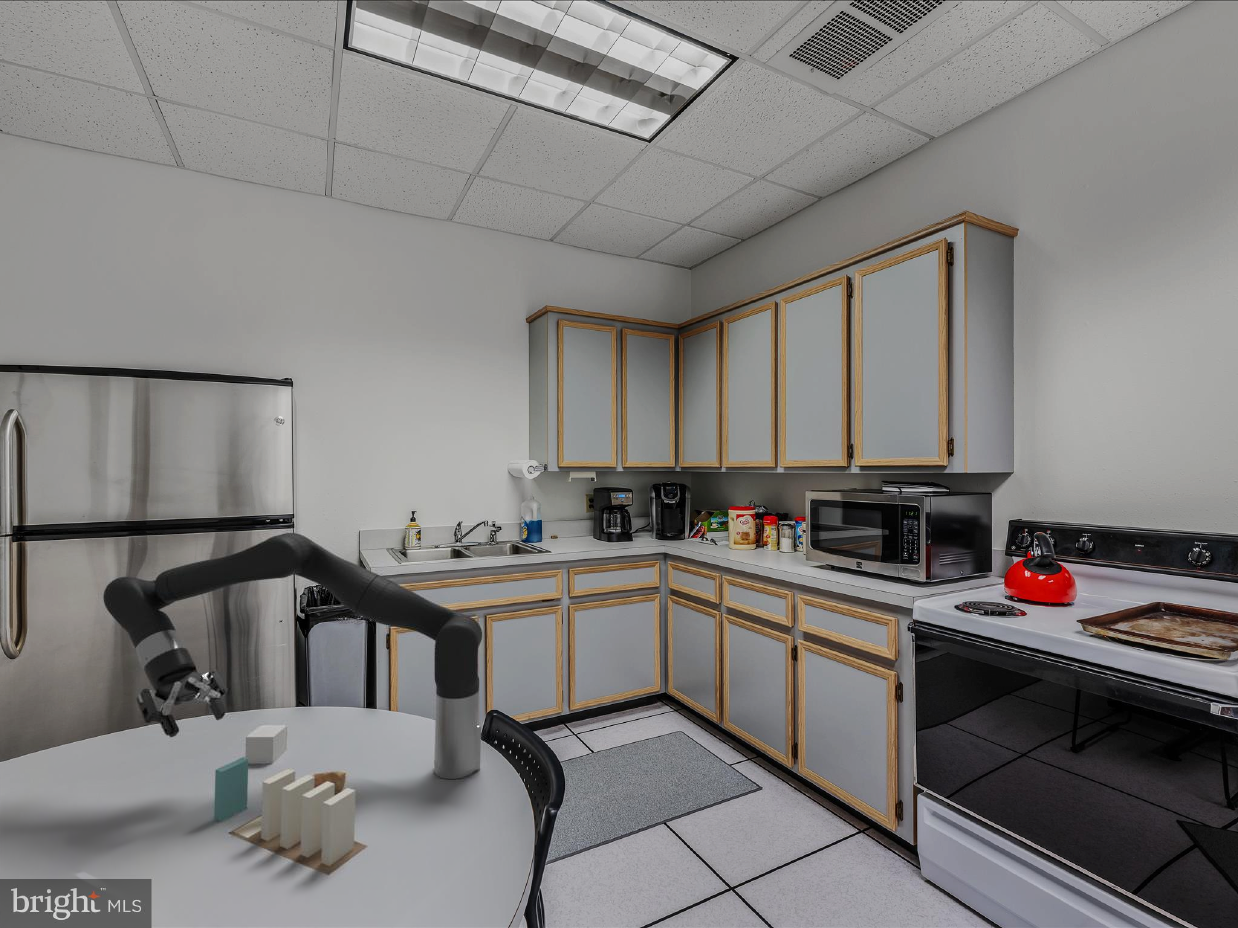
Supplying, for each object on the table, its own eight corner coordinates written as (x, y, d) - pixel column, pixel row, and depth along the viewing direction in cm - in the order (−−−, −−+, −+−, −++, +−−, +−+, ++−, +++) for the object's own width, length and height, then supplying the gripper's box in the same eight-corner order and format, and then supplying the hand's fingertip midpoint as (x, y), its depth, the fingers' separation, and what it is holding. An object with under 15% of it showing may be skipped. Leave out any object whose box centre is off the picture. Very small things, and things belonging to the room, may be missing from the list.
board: (228, 837, 104) (228, 832, 104) (270, 813, 112) (270, 808, 112) (328, 879, 94) (328, 873, 94) (367, 850, 102) (367, 845, 102)
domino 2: (280, 845, 101) (282, 788, 101) (306, 829, 106) (307, 774, 106) (287, 848, 100) (289, 790, 101) (313, 832, 105) (314, 776, 105)
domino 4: (321, 862, 97) (323, 802, 97) (346, 845, 102) (347, 787, 102) (329, 865, 97) (330, 805, 97) (353, 848, 101) (355, 790, 101)
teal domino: (213, 823, 108) (215, 769, 109) (240, 809, 113) (242, 757, 113) (220, 826, 108) (221, 771, 108) (246, 811, 112) (248, 759, 112)
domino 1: (261, 838, 103) (262, 781, 103) (287, 822, 108) (288, 768, 108) (267, 840, 103) (269, 783, 103) (293, 825, 107) (295, 770, 107)
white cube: (286, 750, 137) (287, 725, 137) (272, 763, 131) (273, 736, 131) (260, 750, 136) (261, 725, 136) (245, 763, 130) (245, 736, 130)
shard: (340, 805, 116) (340, 796, 116) (297, 811, 114) (297, 802, 114) (347, 777, 126) (347, 769, 126) (308, 782, 124) (308, 774, 124)
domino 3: (300, 854, 99) (302, 795, 99) (325, 837, 104) (327, 781, 104) (307, 857, 98) (309, 797, 99) (333, 840, 103) (334, 783, 103)
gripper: (133, 657, 112) (167, 729, 107) (210, 638, 125) (244, 701, 120) (116, 680, 114) (149, 752, 109) (194, 659, 127) (227, 722, 122)
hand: (199, 725), depth 115 cm, fingers open, 8 cm apart
